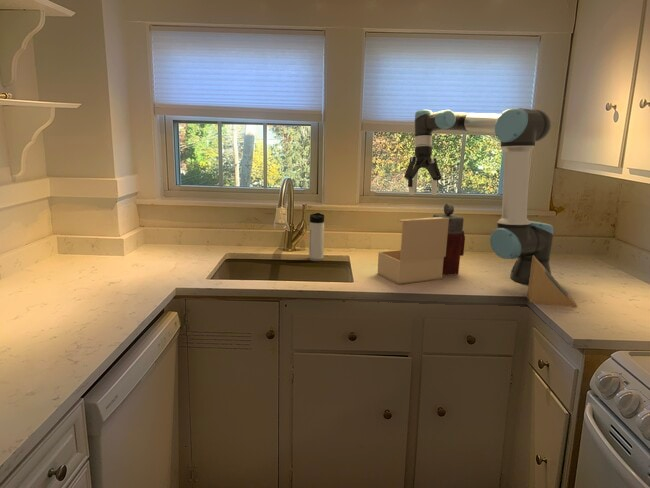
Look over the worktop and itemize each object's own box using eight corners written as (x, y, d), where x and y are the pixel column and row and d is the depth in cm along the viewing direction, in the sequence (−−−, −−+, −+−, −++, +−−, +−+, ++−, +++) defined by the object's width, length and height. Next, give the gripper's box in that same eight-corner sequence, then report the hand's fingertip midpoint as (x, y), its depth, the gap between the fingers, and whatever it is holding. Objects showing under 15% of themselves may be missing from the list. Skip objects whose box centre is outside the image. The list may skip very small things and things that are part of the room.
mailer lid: (397, 218, 181) (403, 220, 177) (441, 216, 189) (449, 217, 186) (394, 258, 184) (401, 261, 180) (438, 254, 193) (445, 256, 189)
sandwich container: (579, 308, 165) (585, 265, 161) (529, 302, 169) (535, 260, 165) (573, 300, 173) (580, 258, 169) (527, 295, 177) (532, 254, 173)
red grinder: (463, 274, 200) (470, 205, 194) (438, 275, 197) (444, 205, 190) (452, 268, 208) (458, 202, 202) (428, 269, 205) (433, 202, 199)
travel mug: (323, 257, 218) (325, 213, 214) (322, 261, 212) (323, 215, 208) (309, 257, 219) (310, 212, 214) (307, 260, 213) (308, 215, 208)
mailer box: (377, 274, 196) (378, 252, 194) (418, 269, 205) (420, 248, 203) (398, 284, 183) (400, 261, 181) (441, 279, 192) (443, 256, 190)
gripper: (437, 149, 228) (437, 195, 229) (396, 145, 214) (396, 194, 216) (449, 147, 221) (449, 194, 223) (407, 143, 208) (407, 194, 210)
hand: (423, 194), depth 219 cm, fingers open, 13 cm apart
